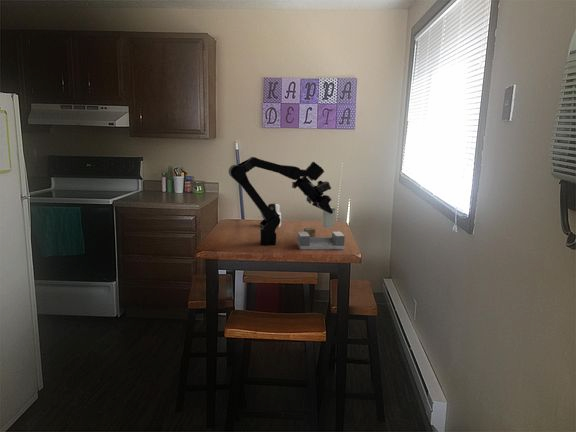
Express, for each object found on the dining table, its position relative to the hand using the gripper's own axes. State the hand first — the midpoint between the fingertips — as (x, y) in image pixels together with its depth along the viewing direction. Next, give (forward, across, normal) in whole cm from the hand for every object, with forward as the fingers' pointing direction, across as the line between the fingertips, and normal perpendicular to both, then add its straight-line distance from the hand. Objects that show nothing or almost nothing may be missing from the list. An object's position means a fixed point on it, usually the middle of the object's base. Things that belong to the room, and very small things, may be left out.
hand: (330, 212), depth 201 cm
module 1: (-2, -9, +19) cm, 21 cm away
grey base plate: (+4, -10, +15) cm, 18 cm away
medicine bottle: (-3, +36, +22) cm, 43 cm away
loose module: (+4, 0, +5) cm, 7 cm away
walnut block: (+5, +10, +14) cm, 18 cm away
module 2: (+8, -11, +9) cm, 16 cm away
